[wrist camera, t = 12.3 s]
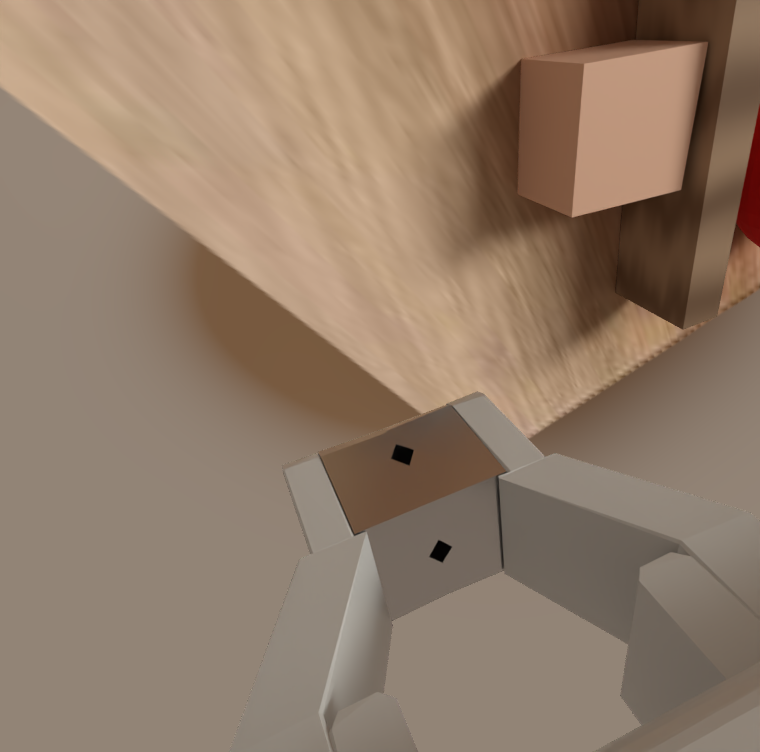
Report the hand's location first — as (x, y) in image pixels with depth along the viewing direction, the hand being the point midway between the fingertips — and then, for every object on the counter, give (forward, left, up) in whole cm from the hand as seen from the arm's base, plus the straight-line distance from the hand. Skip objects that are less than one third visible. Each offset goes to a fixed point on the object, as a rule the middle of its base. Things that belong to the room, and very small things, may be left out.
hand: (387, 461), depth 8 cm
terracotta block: (+4, +23, -27) cm, 36 cm away
